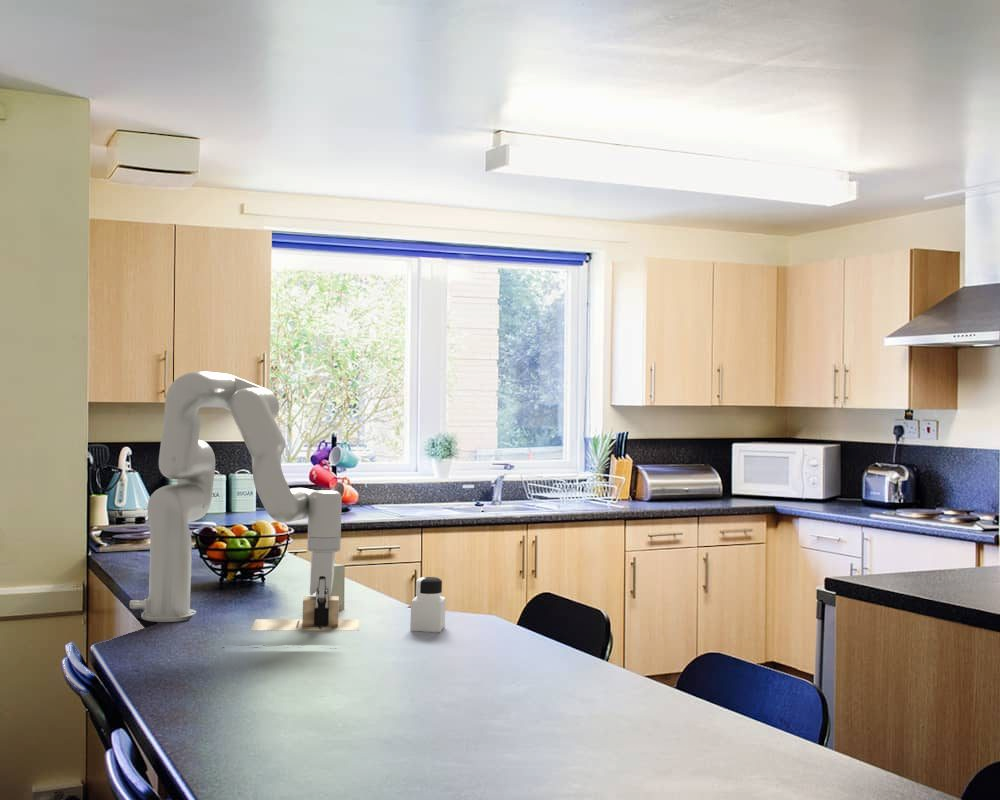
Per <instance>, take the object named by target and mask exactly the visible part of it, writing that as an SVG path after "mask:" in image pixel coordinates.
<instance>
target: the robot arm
mask: <svg viewBox="0 0 1000 800" xmlns="http://www.w3.org/2000/svg"><path fill="white" fill-rule="evenodd" d="M201 408H220V409H224V410H226V411H230V414H231V417H233V420H234V422H235V425H236V426H237V429H238V431H239V433H240V435H241V438H242V439H243V441H244V444H245V446H246V448H247V449H248V451H249V455H250V457H251V469H252V478H253V484H254V487H255V490H256V492H257V495H258V497H259V499H260V502H261V504H262V505H263V507H264V509H265V511H266V512H267V514H268V516H270V518H271V519H273V520H274V521H275V522H278V523H281V524H282V523H283V524H286V523H290V522H295V521H300V520H301V521H302V520H307V523H308V524H307V546H306V547H307V549H306V551H308V552H310V553H311V558H310V572H309V573H310V575H309V576H310V577H309V579H310V580H309V581H310V582H309V595H310V596H314V594H315V596H316V608H315V610H314V625H315V626H328V619H329V608H328V596H329V595H330V594H331V591H332V586H333V578H334V563H336V562H335V560H336V559H335V558H336V555H335V554H336V552H340V551H341V539H342V538H341V536H342V535H341V534H342V533H341V532H342V501H343V500H342V499H343V497H342V494H341V492H339V491H337V490H331V489H329V490H328V489H320V490H318V489H317V490H315V489H310V488H305V487H292V488H290V487H289V484H288V482H287V480H286V478H285V475H284V472H283V470H282V455H283V453H284V450H285V448H286V439H285V438H284V435H283V434H282V432H281V430H280V428H279V426H278V424H277V421H276V420H275V419H276V417H277V416H278V414H279V411H280V403H279V400H278V398H277V396H276V394H275V393H274V392H273V391H271V390H270V389H268V388H266V387H263V386H261V385H258V384H255V383H253V382H250V381H248V380H246V379H242V378H240V377H237V376H235V375H232V374H229V373H225V372H218V371H217V372H215V371H206V370H203V371H202V370H198V371H191V372H187V373H185V374H183V375H181V376H179V377H178V378H176V379H175V380H173V382H172V383H171V384H170V385H169V387H168V389H167V391H166V395H165V401H164V413H163V414H164V416H163V426H162V431H161V439H160V445H159V446H160V448H159V454H158V469H159V472H160V473H161V474H162V476H163V477H165V478H167V479H171V480H177V481H176V482H177V483H175V484H168V485H163V486H161V487H159V488H158V489H156V490H155V491H153V493H151V495H150V497H149V499H148V502H147V507H146V508H147V509H146V510H147V518H148V520H147V521H148V525H149V535H150V536H149V541H150V542H149V570H148V571H149V572H148V574H149V578H148V579H149V580H148V597H147V598H144V599H143V600H138V599H135V600H134V599H132V600H129V609H132V610H143V612H141V616H140V617H141V619H142V620H144V621H147V622H152V623H153V622H157V623H173V622H175V623H177V622H184V621H189V620H191V619H192V617H193V616H194V615H195V614H196V613H197V610H195V609H193V608H191V585H192V584H191V581H192V580H191V579H192V555H193V554H192V549H193V548H192V547H193V546H192V545H193V543H192V542H193V541H192V535H191V530H190V526H189V523H190V522H191V523H192V522H195V521H198V520H200V519H202V518H203V517H204V516H206V514H207V513H208V512H209V510H210V508H211V507H210V506H211V502H212V497H213V489H214V480H215V472H216V456H215V452H214V450H213V448H212V447H211V446H210V444H209V443H207V442H206V441H204V440H201V439H200V432H201V431H200V430H201V417H200V414H199V409H201ZM318 597H319V598H318ZM324 597H326V599H325V598H324ZM325 602H326V604H325Z"/></svg>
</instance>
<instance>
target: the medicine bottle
mask: <svg viewBox="0 0 1000 800" xmlns="http://www.w3.org/2000/svg"><path fill="white" fill-rule="evenodd" d="M415 582H416V583H415V597H414V598H413V599H412V600H411V602H410V623H409V624H410V631H411V632H418V631H421V632H423V633H441V632H442V630H443V629H444V628H445V627H446V603H447V598H446V597H445V596H442V594H443V591H442V589H443V581H442V579H440V578H439V577H436V576H423V577H418V578H417V579H416V581H415Z"/></svg>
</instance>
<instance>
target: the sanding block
mask: <svg viewBox="0 0 1000 800" xmlns="http://www.w3.org/2000/svg"><path fill="white" fill-rule="evenodd" d="M318 598H319V597H318ZM324 598H325V599H326V597H324ZM325 604H326V602H325ZM315 608H316V595H315V596H314V595H310V596H307V595H305V596H303V600H302V619H303V621H302V627H338V619H339V617H340V616H339V614H340V612H339V611H340V610H339V596H328V608H329V619H328V626H315V625H314V610H315Z"/></svg>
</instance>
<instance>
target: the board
mask: <svg viewBox="0 0 1000 800" xmlns="http://www.w3.org/2000/svg"><path fill="white" fill-rule="evenodd" d="M254 620H255V621H254V622H253V624H252V627H251V629H250V631H360V619H358V618H357V619H356V618H355V619H354V618H353V619H349V618H347V619H346V618H345V619H344V618H343V619H341V618H340V619H339V618H338V627H302V621H303V618H302V619H301V618H299V619H297V618H296V619H294V618H293V619H291V618H288V619H285V618H284V619H282V618H281V619H279V618H278V619H265V618H264V619H263V618H262V619H258V618H257V619H254Z"/></svg>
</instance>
